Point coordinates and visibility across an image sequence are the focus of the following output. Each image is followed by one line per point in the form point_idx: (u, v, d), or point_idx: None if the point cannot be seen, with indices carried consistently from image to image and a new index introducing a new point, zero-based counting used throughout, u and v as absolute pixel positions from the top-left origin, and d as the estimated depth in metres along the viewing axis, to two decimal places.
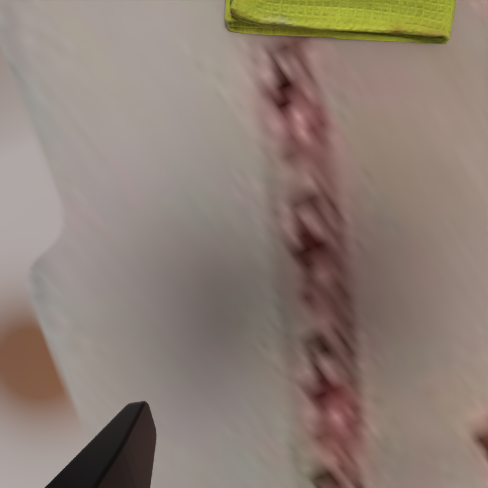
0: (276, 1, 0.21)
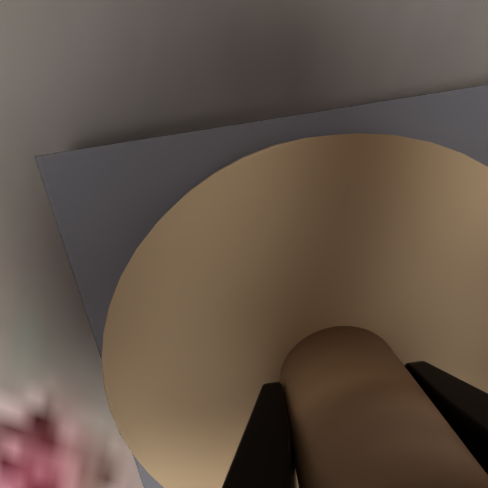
0: None
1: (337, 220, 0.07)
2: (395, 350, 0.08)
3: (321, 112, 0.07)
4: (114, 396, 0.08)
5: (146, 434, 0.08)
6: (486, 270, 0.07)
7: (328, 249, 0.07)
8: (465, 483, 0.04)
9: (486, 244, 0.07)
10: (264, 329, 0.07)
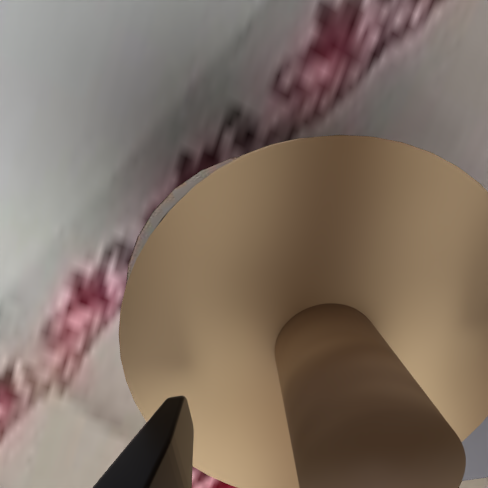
0: None
1: (324, 210, 0.08)
2: (376, 325, 0.09)
3: None
4: (129, 365, 0.09)
5: (157, 401, 0.09)
6: (454, 254, 0.08)
7: (316, 235, 0.08)
8: (418, 414, 0.05)
9: (453, 231, 0.08)
10: (261, 306, 0.08)
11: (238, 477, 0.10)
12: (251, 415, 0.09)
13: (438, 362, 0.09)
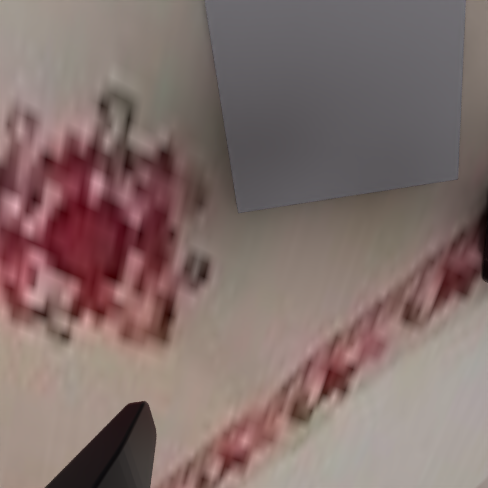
0: None
1: None
2: None
3: None
4: None
5: None
6: None
7: None
8: None
9: None
10: None
11: None
12: None
13: None
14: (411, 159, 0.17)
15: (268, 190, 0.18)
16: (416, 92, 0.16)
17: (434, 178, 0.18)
